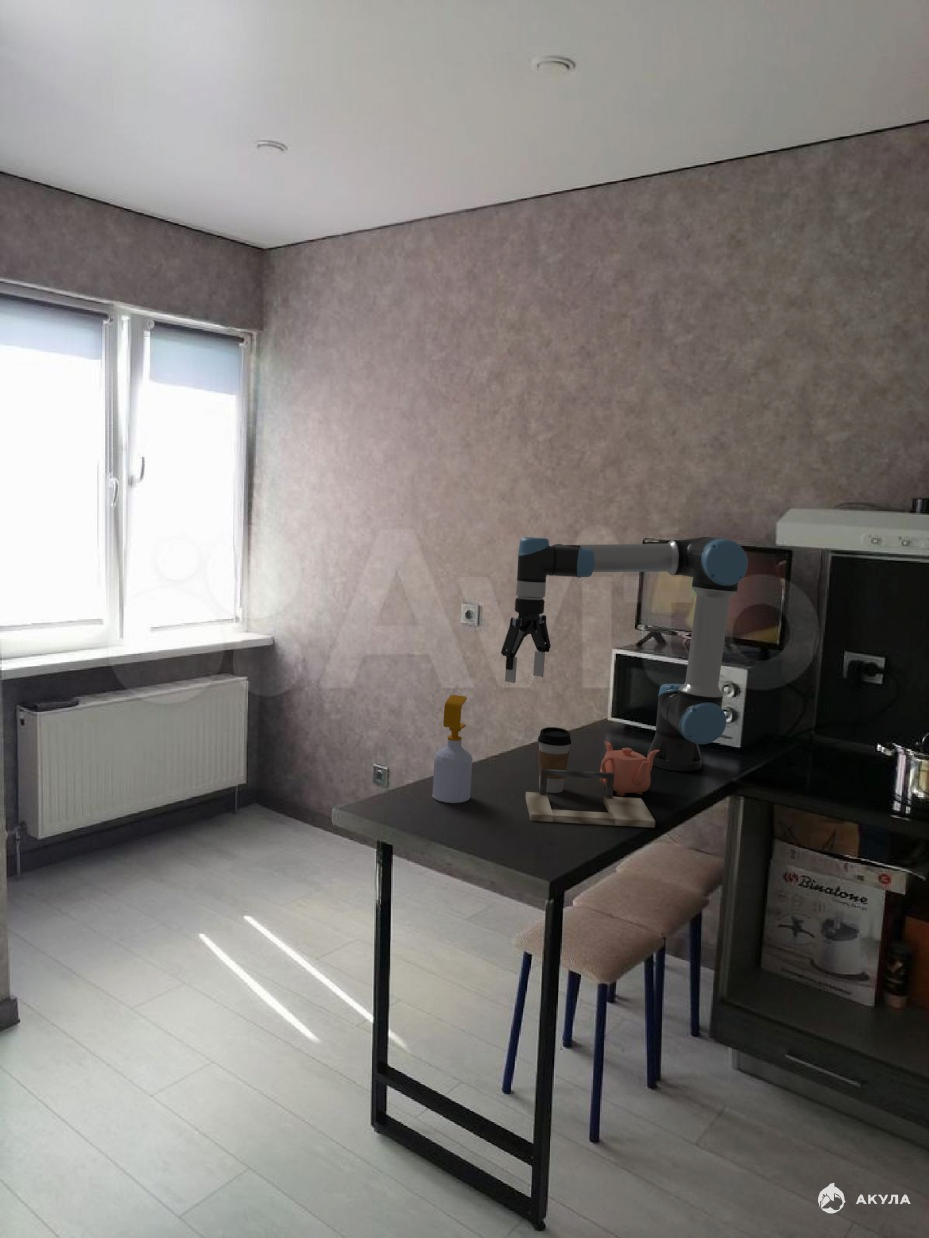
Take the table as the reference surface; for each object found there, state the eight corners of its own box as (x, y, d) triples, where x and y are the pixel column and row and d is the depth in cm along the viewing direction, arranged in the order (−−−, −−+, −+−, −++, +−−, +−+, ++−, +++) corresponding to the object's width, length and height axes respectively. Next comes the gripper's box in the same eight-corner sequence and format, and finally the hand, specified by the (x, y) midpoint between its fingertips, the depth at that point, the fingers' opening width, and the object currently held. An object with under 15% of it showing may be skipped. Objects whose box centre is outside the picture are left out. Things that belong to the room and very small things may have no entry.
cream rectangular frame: (640, 804, 221) (643, 774, 220) (654, 827, 205) (657, 795, 204) (525, 797, 220) (527, 767, 219) (530, 820, 205) (532, 788, 204)
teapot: (601, 778, 240) (605, 738, 239) (656, 787, 235) (660, 746, 234) (589, 793, 227) (592, 750, 226) (646, 803, 222) (650, 759, 221)
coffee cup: (567, 785, 232) (571, 728, 230) (568, 795, 224) (572, 736, 222) (534, 782, 233) (538, 725, 231) (533, 792, 225) (538, 733, 223)
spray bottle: (474, 795, 220) (481, 695, 217) (462, 806, 212) (468, 702, 208) (440, 789, 223) (445, 691, 220) (426, 800, 214) (432, 697, 211)
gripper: (542, 594, 246) (537, 671, 249) (490, 598, 226) (485, 682, 228) (567, 597, 242) (561, 675, 244) (516, 601, 221) (510, 687, 224)
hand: (524, 679), depth 236 cm, fingers open, 13 cm apart
